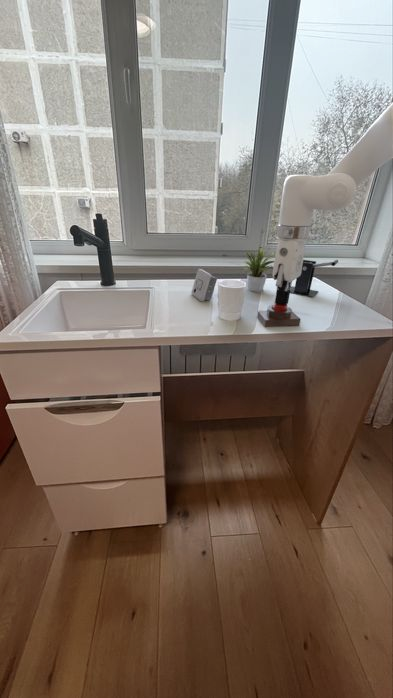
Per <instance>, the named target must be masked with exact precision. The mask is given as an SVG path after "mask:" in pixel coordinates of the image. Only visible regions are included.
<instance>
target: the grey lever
mask: <svg viewBox="0 0 393 698" xmlns="http://www.w3.org/2000/svg"><path fill="white" fill-rule="evenodd" d="M310 263H312V262H310ZM337 264H339V260H338V259H335V260H333V261H327V262H326V261H325V262H320V263H316V264H313V267H312V268H314V267H315V268H318V267H319V268H321V267H328V266H329V267H330V266H332V267H335V266H336V265H337Z"/></svg>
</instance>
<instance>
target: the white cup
mask: <svg viewBox="0 0 393 698" xmlns="http://www.w3.org/2000/svg"><path fill="white" fill-rule="evenodd" d="M246 289H247V283H246V282H244V281H242V280H238V279H223V280H220V281H218V282H217V310H218V311H217V316H218V318H219V319H220V320H224V321H226V322H227V321H229V322H233V321H234V322H235V321H238V320H240V319H241V318H242V312H243V309H244V308H243V307H244V302H245V295H246Z"/></svg>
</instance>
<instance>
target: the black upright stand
mask: <svg viewBox="0 0 393 698" xmlns="http://www.w3.org/2000/svg"><path fill="white" fill-rule="evenodd" d="M310 262H312V263H310ZM313 264H317V261H316V260H310V259H309V260H308V259H303V265H302V271H301V275H300V276H299V277H298V278H296V279H295V284H294V285H293V286H292V285H291V289H290V294H292V295H297V296H303V297H307V298H314V297H316V295H317V294H318V293H319V290H315V289H311V287H312V283H313V279H314V274H315V269H316V267H314V268H312V267H313ZM288 290H289V289H288Z"/></svg>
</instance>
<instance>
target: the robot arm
mask: <svg viewBox="0 0 393 698" xmlns="http://www.w3.org/2000/svg"><path fill="white" fill-rule="evenodd" d="M391 160H393V101H391V103H390V105H388V107H386V108H385V109H384V111H383V112H382V113H381V114H380V115H379V116H378V118H376V119H375V120H374V122H373V123H371V125H370V126H369V128H367V130H366V131H365V133H363V135H362V136H361V137H360V138H359V140H358V141H357V142H356V143H355V144H354V145H353V146H352V147H351V149H350V150H349V151H348V152H347V153H345V155H344V156H342V158H341V159H340V160H339V161H338V162H337V164H335V166H334V167H332V169H331V170H330V171H328V173H327V174H321V175H314V174H290V175H288V176H286V178H285V180H284V181H283V187H282V193H281V200H280V201H281V202H280V209H279V215H278V224H277V231H276V237H275V238H276V240H278V242H277V247H276V251H275V252H276V253H275V255H276V256H275V255H274V257H275V258H274V261H275V262H274V263H273V266H274V267H272V268H273V269H272V280H274V281H275V287H276V293H275V299H274V300H275V301H274V303H276V304H280V305H287V306H288V304H289V299H290V295H291V293H290V289H291V287H292V284H293V281H296V278H298V277H299V276H300V275H301V271H302V265H303V260H304V257H305V247H306V241H309V240H308V239H309V234H310V229H311V223H312V218H313V212H314V210H315V211H317V210H318V211H323V212H328V213H335V212H339V211H342V210H344V209H345V208H347V207H348V206H350V205H351V203H352V201H354V198H355V196H356V193H357V189H358V188H359V186H361V184H363V183H364V182H365V181H366V180H367V179H368V178H369V177H370V176H371V175H372V174H374V173H375V172H376V171H377V170H379V169H380V168H381V167H382V166H383V165H385V164H386V163H388V162H389V161H391ZM288 289H289V290H288Z"/></svg>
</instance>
